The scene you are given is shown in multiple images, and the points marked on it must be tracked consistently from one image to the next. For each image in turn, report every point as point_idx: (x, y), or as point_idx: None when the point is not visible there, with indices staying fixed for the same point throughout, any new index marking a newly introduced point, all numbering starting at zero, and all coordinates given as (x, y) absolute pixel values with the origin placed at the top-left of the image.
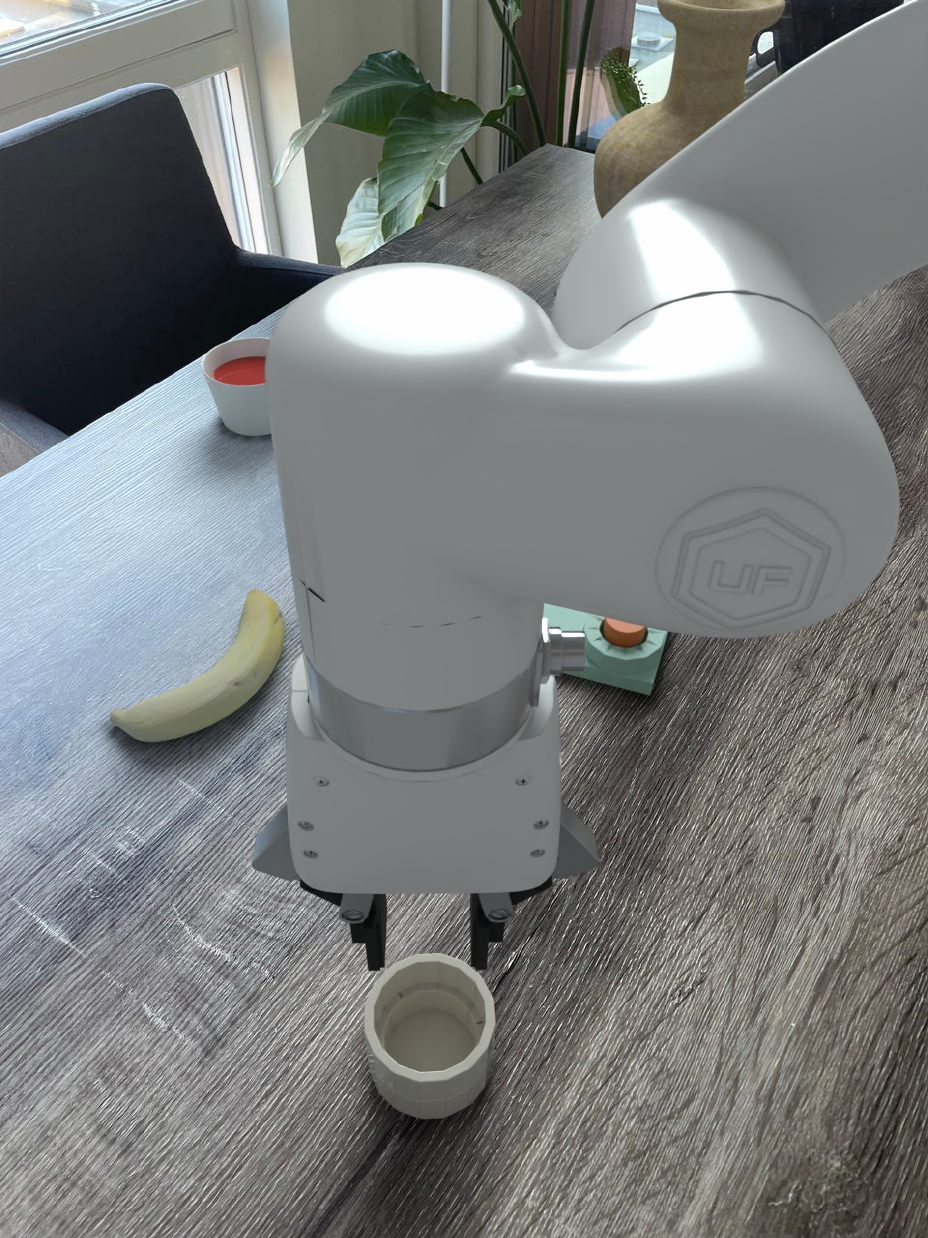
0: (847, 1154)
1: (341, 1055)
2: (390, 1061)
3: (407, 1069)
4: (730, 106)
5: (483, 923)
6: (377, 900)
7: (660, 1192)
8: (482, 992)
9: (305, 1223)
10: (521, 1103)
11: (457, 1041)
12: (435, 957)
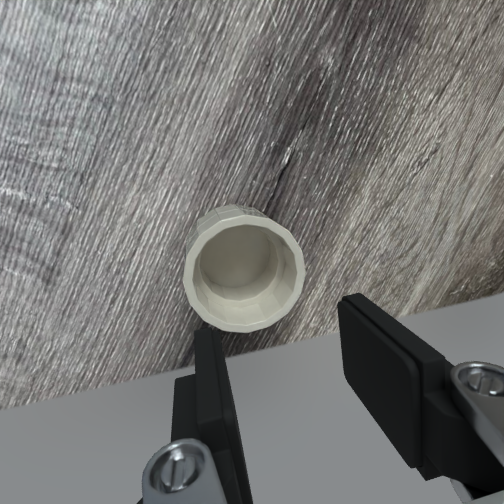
0: (500, 257)
1: (162, 262)
2: (219, 322)
3: (235, 326)
4: None
5: (434, 469)
6: (238, 482)
7: (390, 301)
8: (291, 247)
9: (171, 368)
10: None
11: (254, 240)
12: (241, 220)
